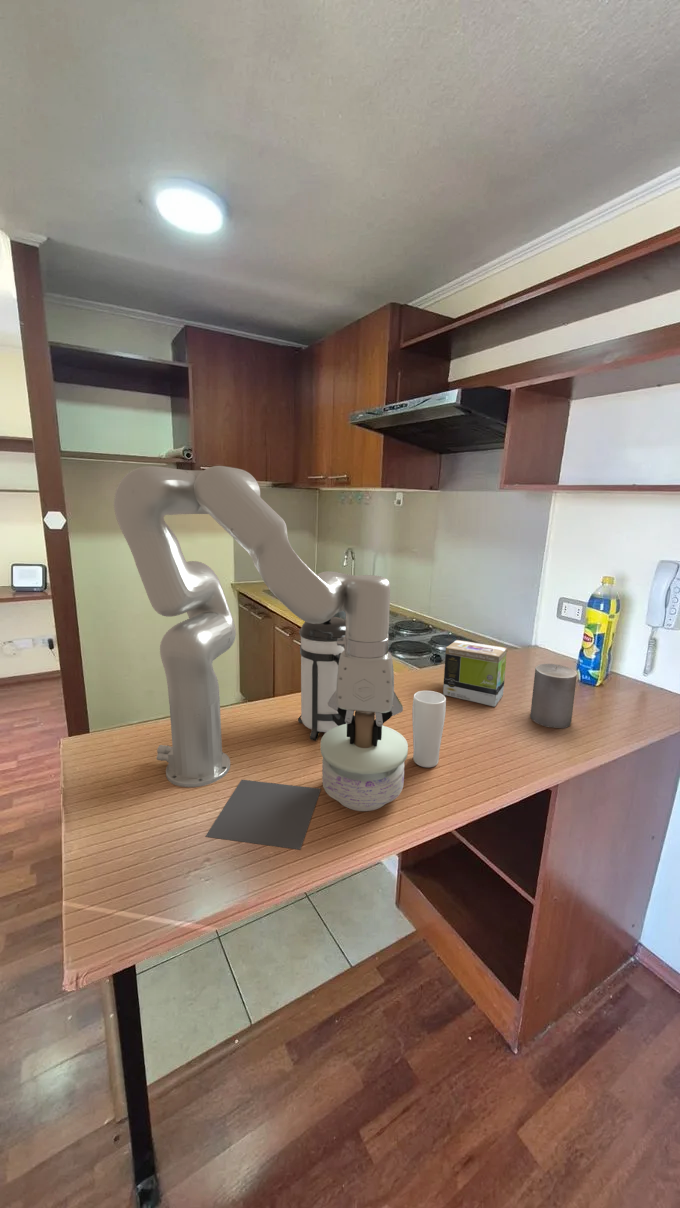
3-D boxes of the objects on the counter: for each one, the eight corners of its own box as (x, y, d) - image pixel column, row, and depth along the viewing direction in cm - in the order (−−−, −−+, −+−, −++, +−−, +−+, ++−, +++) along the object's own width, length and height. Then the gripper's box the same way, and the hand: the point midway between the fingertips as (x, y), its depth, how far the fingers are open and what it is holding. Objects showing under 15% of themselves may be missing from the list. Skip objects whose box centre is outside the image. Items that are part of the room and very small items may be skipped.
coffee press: (280, 735, 109) (278, 612, 102) (315, 709, 123) (315, 599, 116) (345, 754, 101) (348, 622, 94) (374, 724, 115) (378, 607, 108)
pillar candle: (544, 708, 125) (550, 656, 122) (579, 722, 117) (586, 667, 114) (522, 717, 120) (527, 663, 117) (556, 732, 112) (563, 675, 109)
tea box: (503, 695, 133) (508, 647, 130) (494, 708, 125) (499, 656, 122) (453, 684, 141) (456, 638, 138) (441, 695, 133) (445, 646, 129)
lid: (311, 768, 78) (311, 729, 77) (329, 724, 94) (329, 691, 92) (406, 778, 76) (408, 739, 74) (408, 732, 91) (410, 698, 89)
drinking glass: (419, 750, 103) (423, 687, 100) (447, 760, 99) (452, 696, 96) (403, 762, 98) (407, 697, 95) (432, 774, 94) (436, 706, 90)
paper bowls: (339, 832, 77) (340, 790, 75) (311, 781, 91) (311, 745, 89) (418, 811, 83) (420, 772, 81) (380, 766, 96) (381, 732, 95)
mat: (205, 838, 75) (205, 836, 75) (241, 781, 91) (241, 779, 91) (300, 851, 73) (300, 849, 73) (321, 790, 88) (321, 788, 88)
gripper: (315, 649, 78) (315, 747, 82) (414, 656, 75) (409, 757, 79) (324, 637, 85) (323, 727, 89) (414, 642, 83) (410, 735, 87)
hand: (364, 740), depth 84 cm, fingers closed on lid, 3 cm apart
